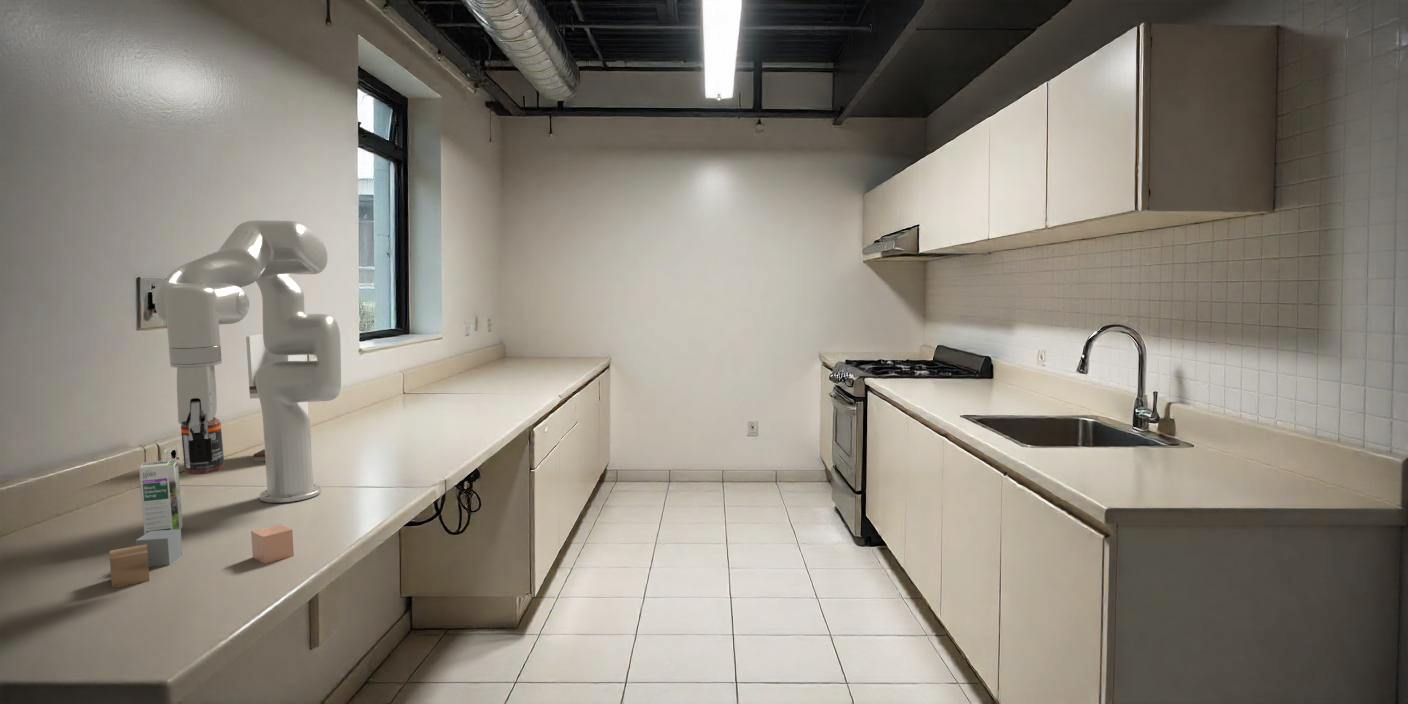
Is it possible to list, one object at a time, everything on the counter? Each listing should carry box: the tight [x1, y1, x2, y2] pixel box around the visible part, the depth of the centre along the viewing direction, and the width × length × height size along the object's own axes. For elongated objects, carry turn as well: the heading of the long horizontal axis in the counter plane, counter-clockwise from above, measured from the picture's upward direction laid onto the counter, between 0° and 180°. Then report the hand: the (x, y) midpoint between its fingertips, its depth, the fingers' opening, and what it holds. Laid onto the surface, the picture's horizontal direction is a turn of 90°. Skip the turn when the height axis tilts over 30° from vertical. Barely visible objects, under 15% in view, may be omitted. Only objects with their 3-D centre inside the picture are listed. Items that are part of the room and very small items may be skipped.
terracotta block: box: [250, 524, 295, 565], centre depth 139 cm, size 5×5×5 cm
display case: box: [245, 333, 309, 463], centre depth 217 cm, size 11×11×35 cm
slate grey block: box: [135, 529, 183, 568], centre depth 137 cm, size 5×5×5 cm
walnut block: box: [109, 544, 150, 589], centre depth 128 cm, size 5×5×5 cm
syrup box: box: [138, 458, 183, 535], centre depth 151 cm, size 6×6×14 cm
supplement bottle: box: [180, 415, 225, 475], centre depth 135 cm, size 6×6×11 cm
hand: (203, 456), depth 135 cm, fingers closed on supplement bottle, 6 cm apart
